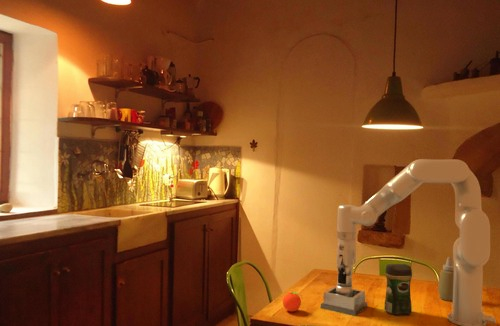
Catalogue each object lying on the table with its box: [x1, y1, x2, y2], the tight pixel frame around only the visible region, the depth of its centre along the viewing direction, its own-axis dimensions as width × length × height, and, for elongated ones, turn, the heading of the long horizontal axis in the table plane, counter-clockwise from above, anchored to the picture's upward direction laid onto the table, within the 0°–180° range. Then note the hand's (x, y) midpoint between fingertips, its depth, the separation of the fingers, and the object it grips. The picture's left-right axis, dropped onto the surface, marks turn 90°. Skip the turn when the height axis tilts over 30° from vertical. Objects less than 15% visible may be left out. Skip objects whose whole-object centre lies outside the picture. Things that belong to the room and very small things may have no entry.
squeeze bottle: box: [437, 256, 454, 302], centre depth 182 cm, size 8×8×18 cm
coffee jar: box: [384, 263, 413, 316], centre depth 163 cm, size 10×8×19 cm
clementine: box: [282, 292, 303, 313], centre depth 161 cm, size 8×7×7 cm
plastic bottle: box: [335, 260, 355, 297], centre depth 167 cm, size 6×7×20 cm
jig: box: [320, 285, 368, 317], centre depth 167 cm, size 14×14×6 cm
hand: (344, 281), depth 167 cm, fingers closed on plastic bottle, 5 cm apart
